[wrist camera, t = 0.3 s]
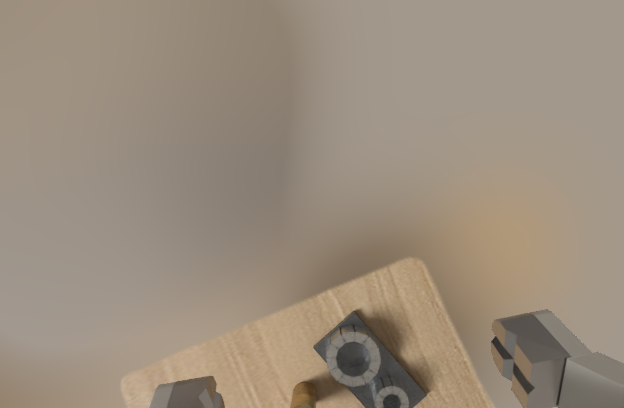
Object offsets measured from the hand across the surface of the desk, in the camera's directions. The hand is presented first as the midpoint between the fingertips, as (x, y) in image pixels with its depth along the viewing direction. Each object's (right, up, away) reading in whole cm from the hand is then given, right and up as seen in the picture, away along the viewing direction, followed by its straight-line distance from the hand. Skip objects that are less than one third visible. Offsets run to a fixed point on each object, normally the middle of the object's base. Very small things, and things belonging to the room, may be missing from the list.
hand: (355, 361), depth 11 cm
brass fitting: (-3, -28, +52) cm, 59 cm away
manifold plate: (+8, -23, +52) cm, 58 cm away
